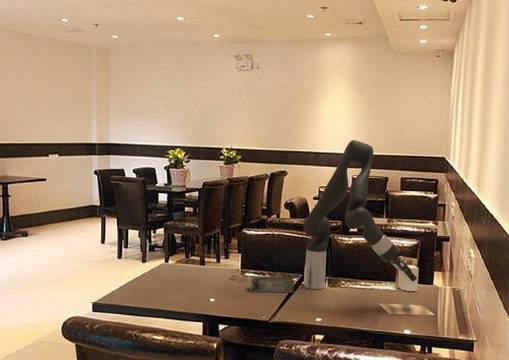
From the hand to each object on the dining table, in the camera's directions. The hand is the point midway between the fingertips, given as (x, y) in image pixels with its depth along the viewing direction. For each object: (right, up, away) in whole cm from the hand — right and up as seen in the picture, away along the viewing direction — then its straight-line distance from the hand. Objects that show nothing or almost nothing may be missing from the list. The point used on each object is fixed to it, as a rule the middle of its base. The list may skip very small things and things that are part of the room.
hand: (412, 278), depth 234 cm
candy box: (+7, -12, +39) cm, 42 cm away
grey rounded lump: (-2, -13, 0) cm, 13 cm away
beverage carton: (-56, -10, +26) cm, 63 cm away
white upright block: (-2, -4, 0) cm, 5 cm away
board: (-2, -13, 0) cm, 14 cm away
